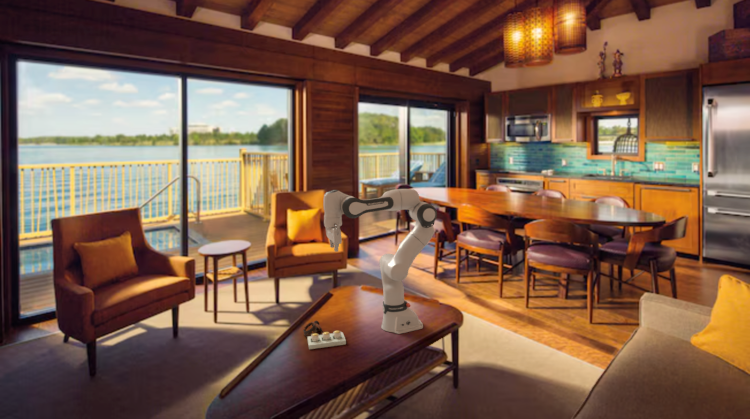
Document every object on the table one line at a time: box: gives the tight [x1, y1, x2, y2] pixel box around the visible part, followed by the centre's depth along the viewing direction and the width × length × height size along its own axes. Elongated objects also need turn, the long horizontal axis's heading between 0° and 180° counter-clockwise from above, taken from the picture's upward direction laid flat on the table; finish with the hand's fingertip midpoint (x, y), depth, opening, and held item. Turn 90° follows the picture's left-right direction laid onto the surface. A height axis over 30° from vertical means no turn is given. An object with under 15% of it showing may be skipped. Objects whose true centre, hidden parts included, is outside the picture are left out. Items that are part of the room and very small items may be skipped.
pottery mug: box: [302, 320, 324, 337], centre depth 220 cm, size 12×10×8 cm
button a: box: [332, 330, 342, 339], centre depth 210 cm, size 4×4×3 cm
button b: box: [322, 331, 331, 341], centre depth 208 cm, size 4×4×3 cm
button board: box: [306, 331, 347, 350], centre depth 209 cm, size 18×10×3 cm, turn 103°
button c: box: [310, 332, 320, 342], centre depth 207 cm, size 4×4×3 cm
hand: (334, 249), depth 213 cm, fingers open, 8 cm apart
